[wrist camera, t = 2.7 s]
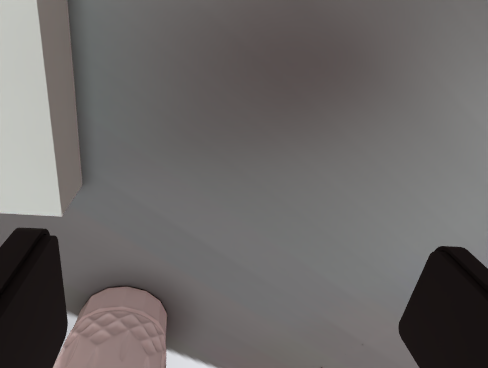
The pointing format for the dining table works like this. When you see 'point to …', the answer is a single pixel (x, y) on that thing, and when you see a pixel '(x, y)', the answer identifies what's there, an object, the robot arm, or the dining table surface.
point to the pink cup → (117, 332)
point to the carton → (37, 109)
